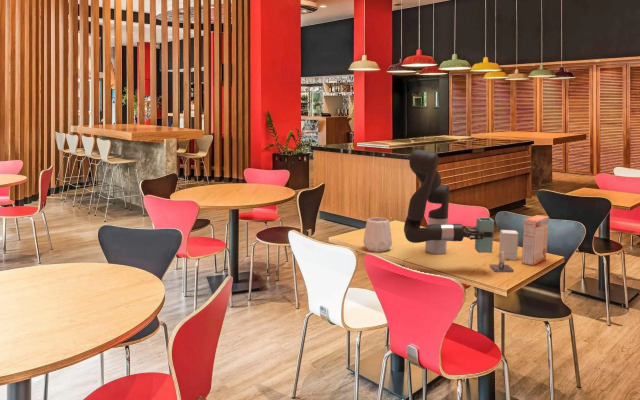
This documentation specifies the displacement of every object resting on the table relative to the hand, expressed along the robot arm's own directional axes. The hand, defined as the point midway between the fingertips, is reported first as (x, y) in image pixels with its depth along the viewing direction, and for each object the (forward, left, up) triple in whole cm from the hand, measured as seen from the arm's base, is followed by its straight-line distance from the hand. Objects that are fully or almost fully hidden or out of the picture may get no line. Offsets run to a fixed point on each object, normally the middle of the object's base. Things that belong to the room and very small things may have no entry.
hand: (490, 232), depth 229 cm
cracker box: (+10, +28, -17) cm, 34 cm away
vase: (-56, -3, -17) cm, 59 cm away
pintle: (+4, +6, -17) cm, 18 cm away
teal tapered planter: (-2, -1, -8) cm, 8 cm away
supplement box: (-2, +26, -17) cm, 31 cm away
